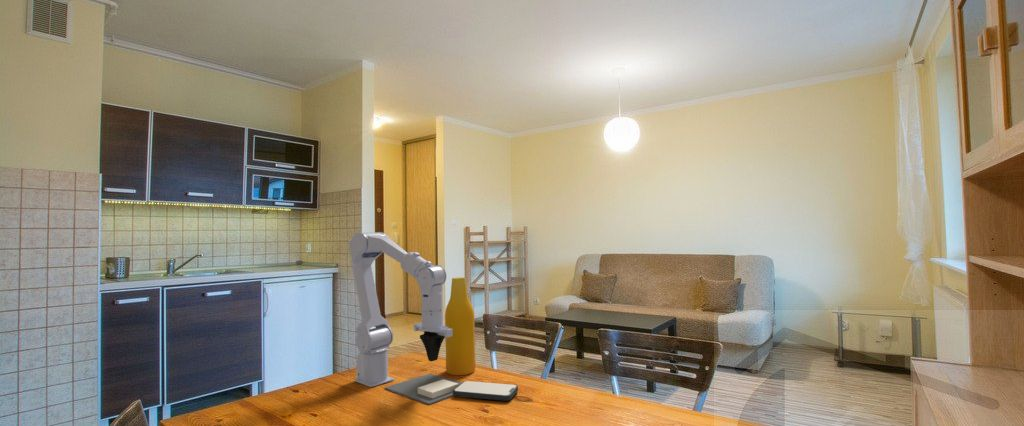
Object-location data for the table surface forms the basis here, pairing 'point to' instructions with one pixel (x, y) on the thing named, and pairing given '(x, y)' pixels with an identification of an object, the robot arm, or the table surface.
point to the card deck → (437, 388)
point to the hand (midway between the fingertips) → (432, 360)
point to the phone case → (485, 390)
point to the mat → (411, 386)
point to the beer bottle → (460, 330)
